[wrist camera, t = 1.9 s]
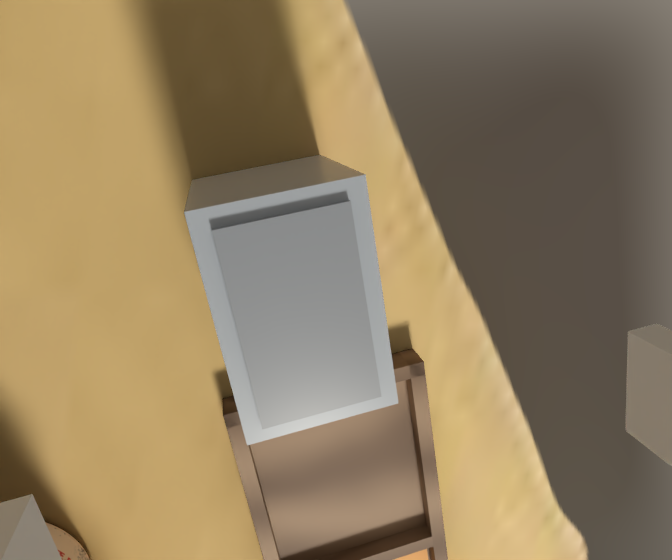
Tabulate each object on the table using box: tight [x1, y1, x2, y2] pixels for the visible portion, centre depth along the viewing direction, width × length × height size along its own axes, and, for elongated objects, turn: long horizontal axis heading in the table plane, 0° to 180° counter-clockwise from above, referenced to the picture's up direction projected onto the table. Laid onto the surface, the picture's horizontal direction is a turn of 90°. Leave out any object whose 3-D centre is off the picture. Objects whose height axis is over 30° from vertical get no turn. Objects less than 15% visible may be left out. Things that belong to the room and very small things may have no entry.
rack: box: [223, 349, 448, 560], centre depth 32 cm, size 24×11×2 cm, turn 10°
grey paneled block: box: [184, 155, 398, 445], centre depth 22 cm, size 9×6×8 cm, turn 10°
